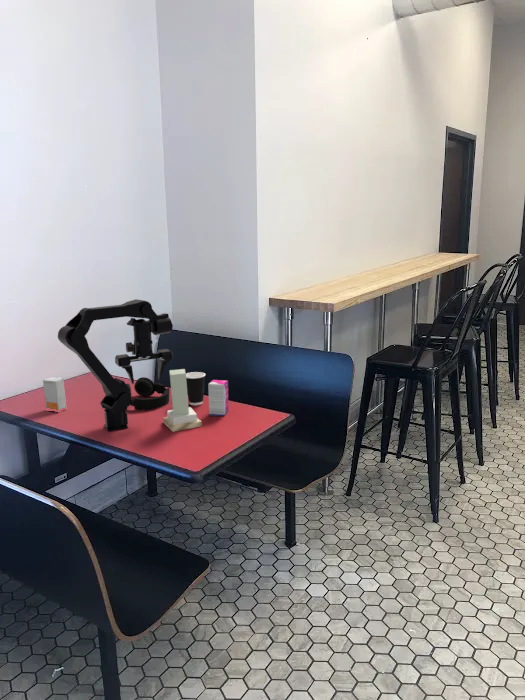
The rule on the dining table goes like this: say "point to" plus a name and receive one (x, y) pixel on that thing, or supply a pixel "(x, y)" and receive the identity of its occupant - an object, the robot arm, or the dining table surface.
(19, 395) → the dining table surface
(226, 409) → the supplement box
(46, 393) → the skincare box
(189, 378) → the dixie cup
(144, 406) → the headphones
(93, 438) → the dining table surface
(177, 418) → the tower top slab
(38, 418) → the dining table surface
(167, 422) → the tower base slab
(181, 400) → the tall block
